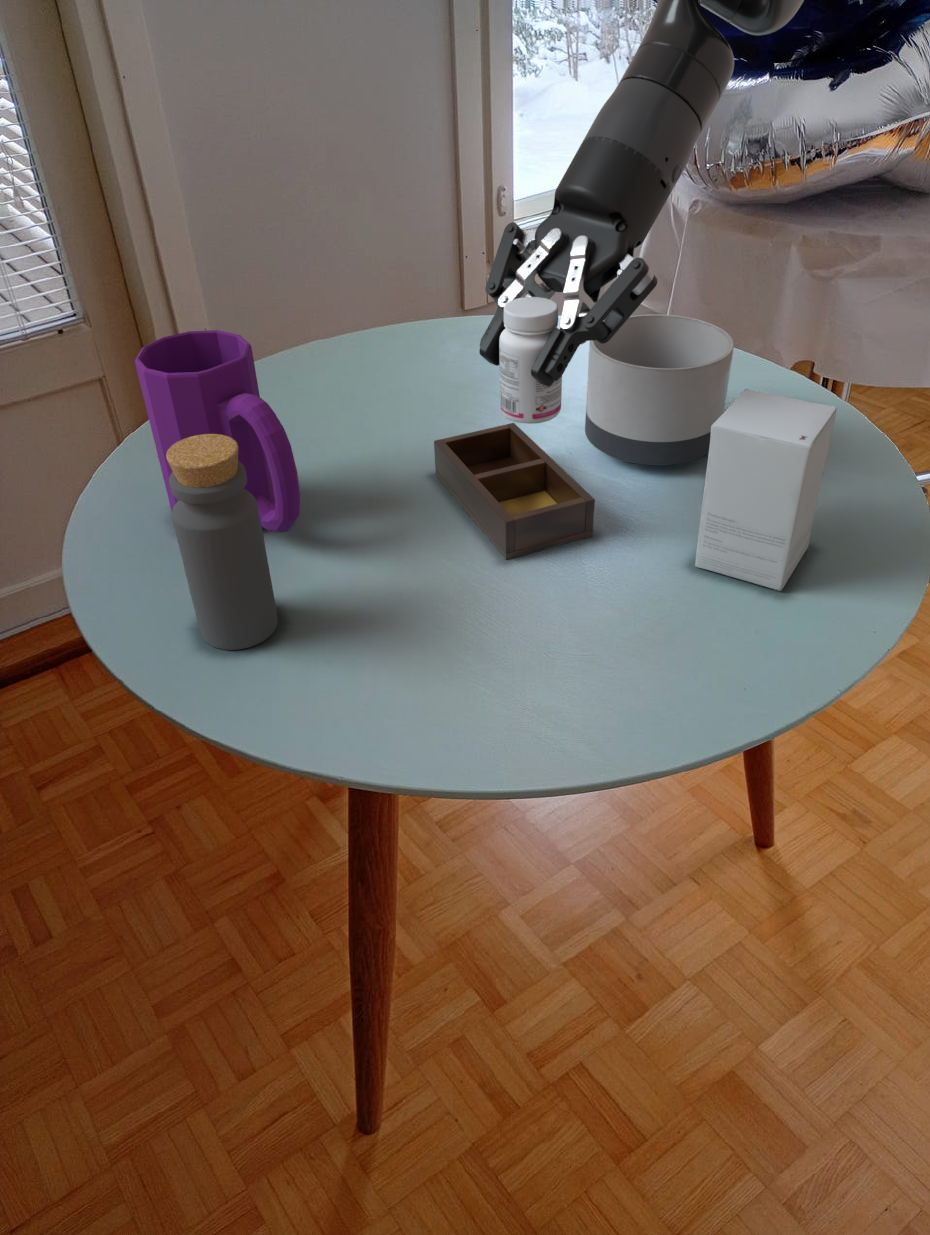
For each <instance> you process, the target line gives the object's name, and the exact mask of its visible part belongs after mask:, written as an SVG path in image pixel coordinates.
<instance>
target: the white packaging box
mask: <svg viewBox="0 0 930 1235" xmlns="http://www.w3.org/2000/svg"><path fill="white" fill-rule="evenodd" d="M837 409H838V408H837V407H836V406H833V405H828V404H823V403H822V404H821V403H816V402H812V401H806V400H801V399H796V398H793V397H787V396H782V395H777V394H773V393H767V392H763V391H758V390H753V389H748V388H744V390H743V391H742V392H741V393H740V394H739V395H738V396H737V398H735V400H734V401H733V402H732V403H731V405H730V406H729V407H728V408H727V409H725V410H724V413H723V414H722V415H721V416H720V417H719V418H718V419H717V420H716V421H715V423H714V424H713V425H712V426H711V436H710V447H709V453H708V454H707V456H708V457H707V464H706V470H705V471H706V472H705V479H704V487H703V494H702V503H701V511H700V518H699V526H698V533H697V534H698V536H697V545H696V552H695V562H694V566H695V567H696V568H699V569H703V570H706V571H711V572H714V573H717V574H720V575H724V576H727V577H730V578H734V579H738V580H740V581H741V580H742V581H746V582H747V583H751V584H755V585H758V586H762V587H765V588H768V589H772V590H775V591H778V592H781V591H783V589H784V587H785V586H786V584H787V583H788V580H789V579H790V577H791V576H792V575H793V573H794V571H795V569H796V568H797V567H798V565H799V563H800V561H801V560H802V558H803V556H804V555H805V553H806V551H807V549H809V544H810V539H811V534H812V529H813V525H814V519H815V514H816V511H817V505H818V501H819V496H820V491H821V486H822V481H823V477H824V473H825V468H826V463H827V458H828V453H829V448H830V443H831V438H832V433H833V429H834V425H835V424H834V423H835V419H836V414H837Z"/></svg>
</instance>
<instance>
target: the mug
mask: <svg viewBox="0 0 930 1235" xmlns="http://www.w3.org/2000/svg"><path fill="white" fill-rule="evenodd" d="M254 359H255V358H254V354H253V348H252V344H250V343H249V342H248V341H247V340H246V339H245V338H244V337H243V336H242V335H241V334H237V333H234V332H228V331H224V330H218V329H213V330H211V329H210V330H188V331H185V332H181V333H176V334H171V335H167V336H163V337H160V338H159V339H157V340H155V341H153V342H151V343H149V344H147V345H144V346H143V347H142V348H141V349H140V351H139V353H138V354H137V356H136V358H135V360H134V365H135V367H136V373H137V377H138V380H139V385H140V389H141V393H142V397H143V401H144V404H145V408H146V409H145V410H146V414H147V418H148V421H149V426H150V429H151V433H152V437H153V438H152V439H153V442H154V445H155V450H156V453H157V454H156V455H157V458H158V463H159V466H160V470H161V474H162V479H163V482H164V486H165V490H166V495H167V498H168V502H169V507H170V510H171V512H172V511H173V508H174V506H175V505H176V503H177V502H178V501H179V500H178V499H177V498H176V497H174V495H173V494H172V492H171V488H170V484H169V477H170V475H171V473H172V472H173V471H172V469H171V467H170V465H169V463H168V460H167V458H166V454H167V451H168V449H169V448H170V447H171V446H172V445H173V444H175V443H176V442H178V441H180V440H182V439H185V438H188V437H191V436H196V435H202V434H220V435H225V436H228V437H230V438H232V439H234V440H235V441H236V442H237V444H238V461H239V462H241V463H242V464H243V466H244V467H245V470H246V475H247V483H246V486H245V487H244V489H245V490H247V491H248V492H250V493H251V494H252V495H253V496H254V498H255V499H256V502H257V506H258V511H259V516H260V521H261V527H262V529H263V528H264V529H266V530H267V531H269V532H272V533H286V532H288V531H289V530H291V528H293V526H294V525H295V523H296V522H297V520H298V518H300V513H301V490H300V482H299V475H298V468H297V465H296V461H295V457H294V453H293V448H292V444H291V441H290V440H289V437H288V434H287V432H286V430H285V427H284V426H283V425H282V422H281V421H280V419H279V418H278V416H277V415H276V412H275V411H274V410H273V409H272V407H271V405H269V403H268V402H267V401H265V400H264V399H263V398H262V397H261V395H260V390H259V384H258V377H257V372H256V365H255V360H254Z"/></svg>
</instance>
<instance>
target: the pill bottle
mask: <svg viewBox="0 0 930 1235" xmlns="http://www.w3.org/2000/svg"><path fill="white" fill-rule="evenodd" d="M523 297H524V296H523ZM523 297H520V298H518V299H514V300H511V301H509V302H508V303H506V304H505V306H504V326H505V329H504V330H503V331H502V333H501V335H500V339H499V359H500V360H499V362H500V365H499V403H500V404H499V406H500V412H501V414H502V415H503V417H504V418H505V419H507V420H509V421H511V422H513V423H519V424H528V425H529V424H530V425H534V424H535V425H536V424H542V423H546V422H549V421H551V420H554V419H555V418H556V417H557V416H558V415H559V414H560V412H561V409H562V397H563V396H562V394H563V392H562V391H563V375H562V376H561V377H560V378H559V379H558V380H557V381H554V382H553V384H552V385H551V386H549V387H548V386H545V385H543V384H540V383H539V382H538V381H537V380H536V379H535V378H534V377H533V376H532V375H531V369H532V367H533V365H534V363H535V361H536V359H537V358H538V356H539V354H540V352H541V350H542V349H543V347H544V345H545V343H546V341H547V340H548V338H549V336H550V334H551V333H552V331H553V329H554V328H556V329H559V328H558V325H559V306H558V303H557V302H556V301H554V300H552V299H551V298H550V299H546V298H541V297H524V298H523Z"/></svg>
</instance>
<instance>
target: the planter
mask: <svg viewBox="0 0 930 1235" xmlns="http://www.w3.org/2000/svg"><path fill="white" fill-rule="evenodd" d="M734 348H735V343H734V340H733V337H732V336H731V335H730V334H729V332H727V331H726V330H724V329H723V328H721V327H720V326H717V325H715V324H713V323H711V322H708V321H705V320H702V319H698V318H695V317H689V316H683V315H676V314H675V315H674V314H663V313H661V314H660V313H659V314H658V313H656V314H655V313H654V314H653V313H652V314H636V315H631V316H630V317H629V318H628V319H627V320H626V322H625V323H624V324H623V325H622V326H621V327H620V329H619V330H618V331H617V332H616V333H615V334H614V336H613V337H612V338H611V339H610V340H609V341H608V342H607V343H604V344H601V343H599V342H598V341H597V340H592V341H589V347H588V362H587V363H588V364H587V380H586V381H587V382H586V383H587V385H586V401H585V402H586V403H585V419H584V420H585V421H584V433H585V437H586V439H587V440H588V441H589V443H590V445H592V446H594V447H595V448H596V449H597V450H599V451H600V452H602V453H604V454H605V455H607V456H610V457H612V458H614V459H617V460H620V461H624V462H628V463H633V464H639V465H646V466H647V465H648V466H668V465H669V466H670V465H677V464H682V463H683V464H684V463H687V462H691V461H694V460H697V459H701V458H703V457H705V456H707V455H709V447H710V436H711V426H712V425H713V424H714V423H715V421H716V420H717V419H718V418H719V417H720V416H721V415H722V414H723V413H724V412H725V411H726V402H727V397H728V396H727V395H728V390H729V382H730V375H731V370H732V362H733V356H734Z"/></svg>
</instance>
